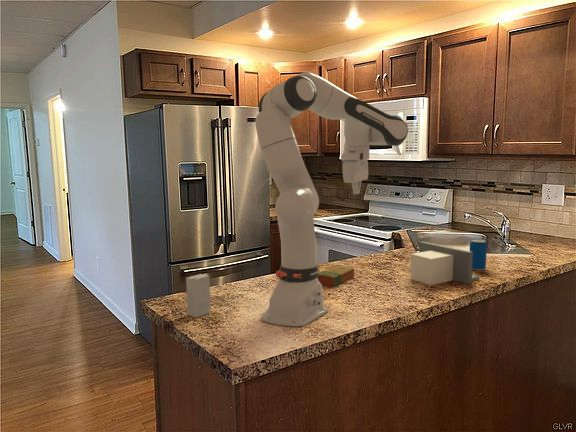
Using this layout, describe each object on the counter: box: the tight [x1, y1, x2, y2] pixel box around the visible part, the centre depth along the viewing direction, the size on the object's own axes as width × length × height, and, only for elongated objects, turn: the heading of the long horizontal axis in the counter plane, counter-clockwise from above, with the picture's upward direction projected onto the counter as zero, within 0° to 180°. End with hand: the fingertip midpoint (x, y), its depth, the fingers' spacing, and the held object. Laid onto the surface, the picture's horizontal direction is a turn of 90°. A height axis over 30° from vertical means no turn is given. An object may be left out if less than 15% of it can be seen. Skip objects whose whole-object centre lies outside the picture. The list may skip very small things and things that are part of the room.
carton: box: [317, 265, 355, 288], centre depth 179 cm, size 8×16×4 cm, turn 144°
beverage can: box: [469, 238, 488, 271], centre depth 192 cm, size 6×6×12 cm
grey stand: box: [418, 241, 480, 285], centre depth 183 cm, size 9×24×12 cm, turn 31°
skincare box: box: [185, 273, 212, 318], centre depth 143 cm, size 6×4×12 cm
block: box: [410, 250, 454, 286], centre depth 178 cm, size 12×10×10 cm
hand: (356, 193), depth 166 cm, fingers closed
